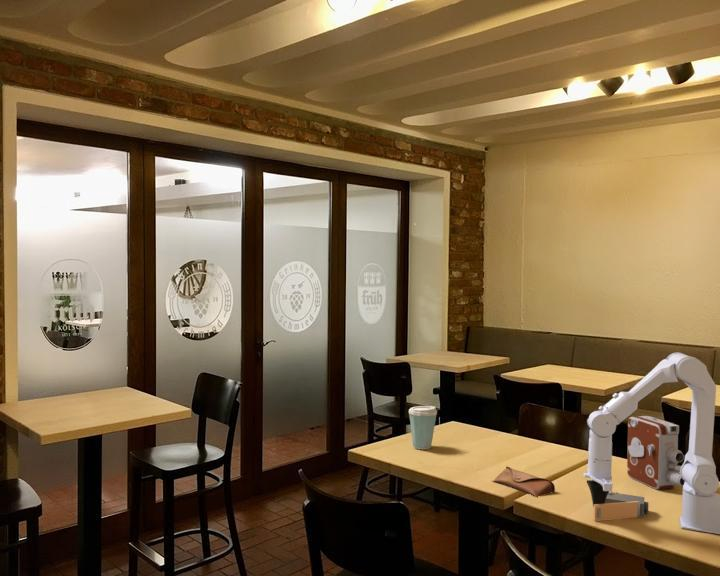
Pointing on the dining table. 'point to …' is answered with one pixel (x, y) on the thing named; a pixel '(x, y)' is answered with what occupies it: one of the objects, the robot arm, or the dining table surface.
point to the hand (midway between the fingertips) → (598, 509)
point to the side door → (616, 510)
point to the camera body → (627, 500)
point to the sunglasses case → (525, 482)
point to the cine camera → (654, 452)
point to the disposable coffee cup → (422, 425)
